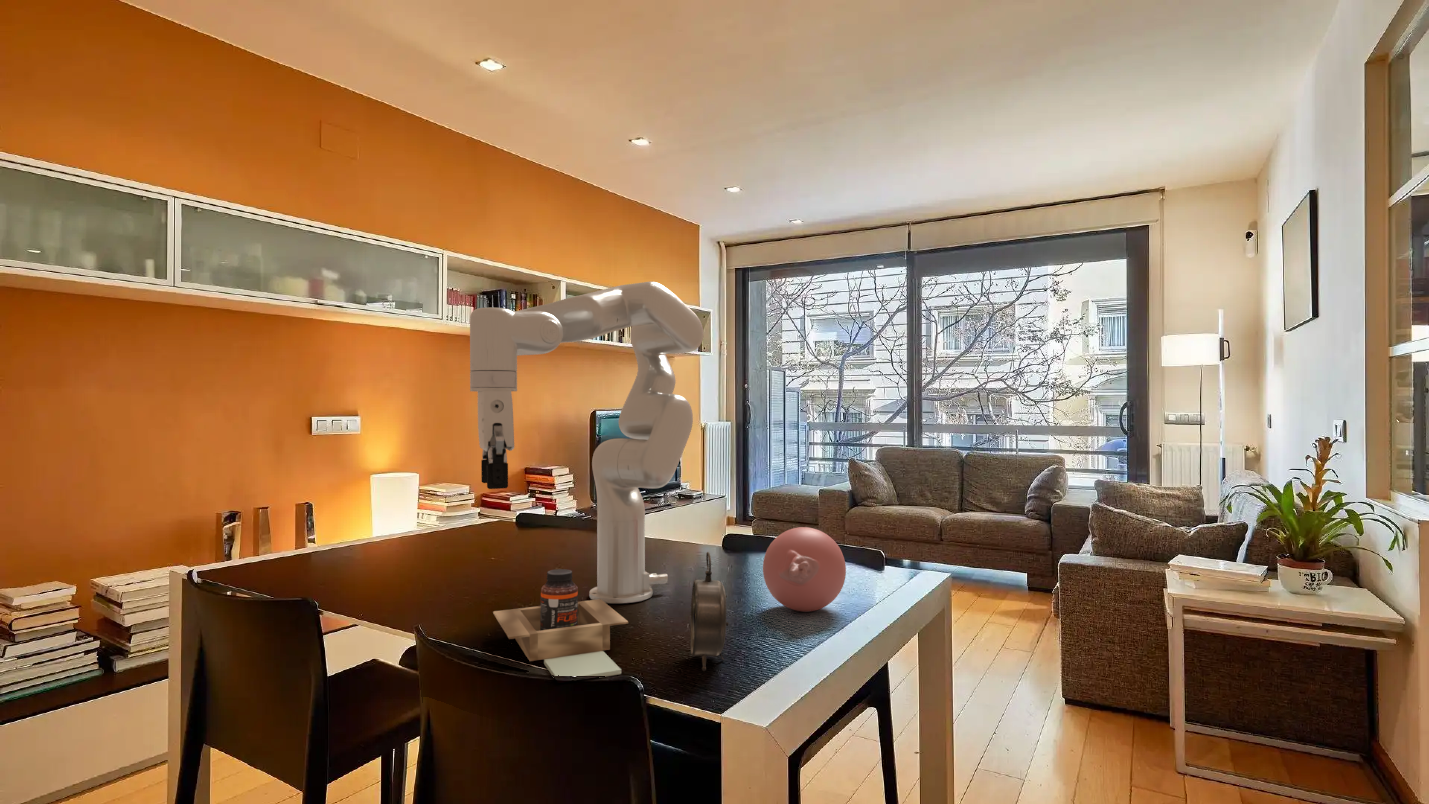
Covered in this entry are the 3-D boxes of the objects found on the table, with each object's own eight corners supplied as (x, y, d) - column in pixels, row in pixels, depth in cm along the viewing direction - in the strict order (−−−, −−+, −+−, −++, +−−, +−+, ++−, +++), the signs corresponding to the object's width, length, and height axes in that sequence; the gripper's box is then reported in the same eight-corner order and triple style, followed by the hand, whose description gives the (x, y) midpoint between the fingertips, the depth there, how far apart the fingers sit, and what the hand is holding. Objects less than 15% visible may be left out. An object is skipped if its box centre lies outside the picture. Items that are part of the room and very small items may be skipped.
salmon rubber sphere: (745, 624, 128) (745, 536, 128) (774, 596, 147) (774, 519, 147) (833, 633, 123) (832, 541, 123) (852, 603, 142) (851, 523, 142)
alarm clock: (689, 649, 115) (688, 545, 115) (723, 648, 115) (723, 545, 115) (693, 675, 104) (692, 560, 104) (731, 673, 104) (730, 559, 104)
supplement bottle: (559, 649, 115) (559, 577, 115) (532, 643, 118) (532, 572, 118) (585, 639, 120) (585, 570, 120) (558, 633, 123) (558, 565, 123)
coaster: (602, 654, 112) (602, 650, 112) (621, 673, 104) (621, 669, 104) (543, 663, 108) (543, 659, 108) (558, 684, 100) (558, 679, 100)
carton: (600, 621, 130) (600, 599, 130) (628, 646, 116) (628, 621, 116) (493, 635, 122) (493, 611, 122) (509, 664, 108) (509, 637, 108)
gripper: (524, 381, 116) (524, 489, 116) (510, 384, 132) (510, 479, 132) (474, 380, 113) (475, 492, 113) (466, 384, 129) (466, 481, 129)
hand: (494, 485), depth 122 cm, fingers open, 9 cm apart
